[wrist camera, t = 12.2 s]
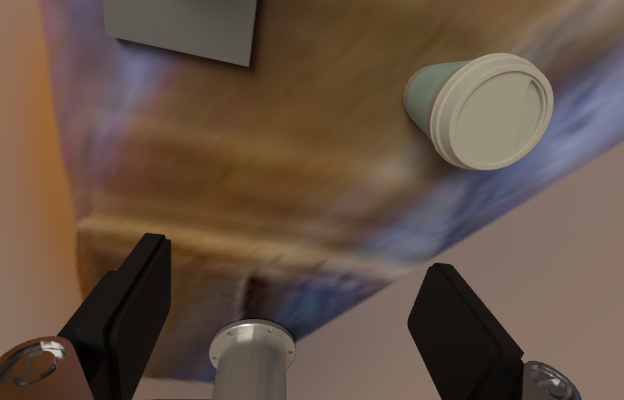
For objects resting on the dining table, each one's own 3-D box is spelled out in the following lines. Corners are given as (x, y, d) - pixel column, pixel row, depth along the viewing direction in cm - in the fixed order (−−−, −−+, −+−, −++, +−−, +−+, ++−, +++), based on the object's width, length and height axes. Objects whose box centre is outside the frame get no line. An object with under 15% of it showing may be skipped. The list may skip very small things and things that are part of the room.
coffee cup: (438, 147, 36) (505, 193, 25) (374, 114, 33) (418, 150, 23) (487, 73, 32) (588, 91, 22) (420, 32, 30) (496, 28, 20)
